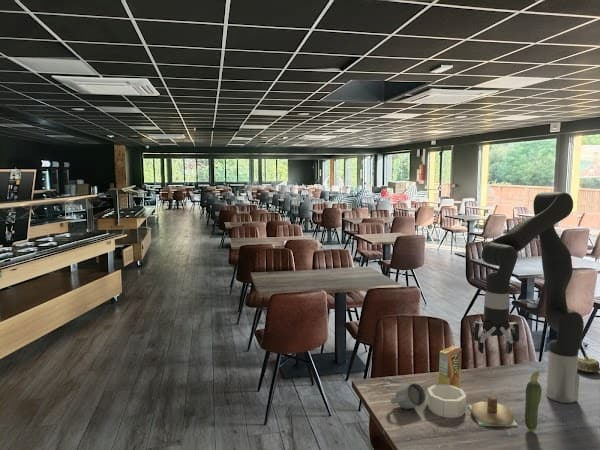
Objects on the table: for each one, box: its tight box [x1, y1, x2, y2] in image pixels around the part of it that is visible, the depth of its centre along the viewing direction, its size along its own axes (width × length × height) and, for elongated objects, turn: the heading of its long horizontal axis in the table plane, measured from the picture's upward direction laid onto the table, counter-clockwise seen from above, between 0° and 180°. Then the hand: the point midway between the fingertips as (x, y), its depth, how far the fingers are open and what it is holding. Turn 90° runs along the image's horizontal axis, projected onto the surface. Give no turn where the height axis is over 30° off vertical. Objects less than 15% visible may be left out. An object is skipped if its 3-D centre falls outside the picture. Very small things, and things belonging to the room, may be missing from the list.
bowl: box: [426, 383, 467, 419], centre depth 156 cm, size 12×12×6 cm
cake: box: [577, 355, 600, 373], centre depth 188 cm, size 10×10×5 cm
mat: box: [467, 404, 519, 428], centre depth 151 cm, size 12×12×1 cm
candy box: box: [438, 345, 463, 388], centre depth 170 cm, size 9×4×15 cm, turn 129°
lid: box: [470, 395, 515, 425], centre depth 151 cm, size 13×13×6 cm
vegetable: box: [524, 371, 543, 433], centre depth 142 cm, size 4×4×20 cm
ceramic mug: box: [390, 382, 427, 410], centre depth 155 cm, size 11×8×8 cm
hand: (494, 352), depth 149 cm, fingers open, 8 cm apart
